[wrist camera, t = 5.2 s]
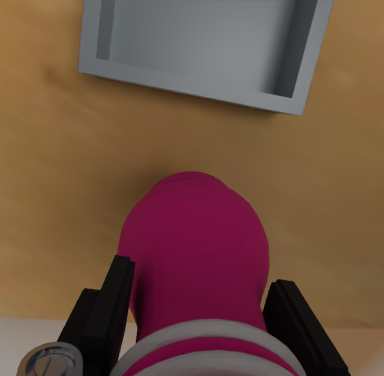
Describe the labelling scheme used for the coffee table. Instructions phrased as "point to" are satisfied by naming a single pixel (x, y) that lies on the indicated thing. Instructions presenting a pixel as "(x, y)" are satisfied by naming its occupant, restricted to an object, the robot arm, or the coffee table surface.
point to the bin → (208, 48)
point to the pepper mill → (199, 284)
